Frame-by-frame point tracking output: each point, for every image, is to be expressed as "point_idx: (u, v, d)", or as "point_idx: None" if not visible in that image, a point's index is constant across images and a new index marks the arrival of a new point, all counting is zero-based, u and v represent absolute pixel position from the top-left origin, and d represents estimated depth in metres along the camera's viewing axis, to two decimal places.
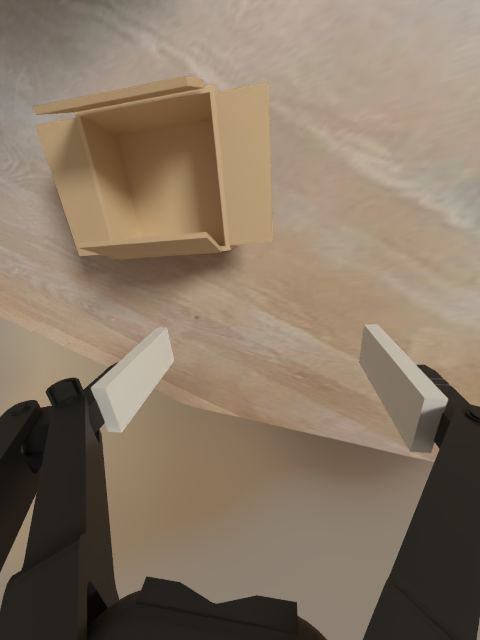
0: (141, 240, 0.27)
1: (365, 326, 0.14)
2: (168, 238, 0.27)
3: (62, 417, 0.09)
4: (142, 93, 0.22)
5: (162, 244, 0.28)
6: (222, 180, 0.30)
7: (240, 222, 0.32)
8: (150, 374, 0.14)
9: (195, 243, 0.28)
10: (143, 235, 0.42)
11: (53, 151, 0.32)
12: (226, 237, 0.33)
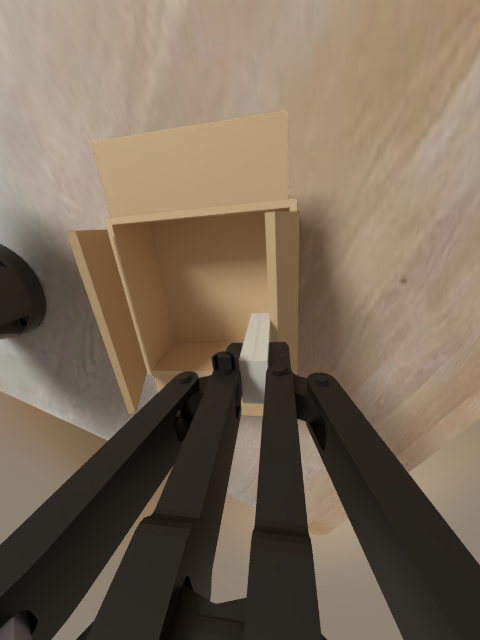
0: (274, 332, 0.17)
1: (260, 314, 0.17)
2: (273, 287, 0.15)
3: (216, 385, 0.10)
4: (95, 293, 0.18)
5: (282, 301, 0.17)
6: (198, 210, 0.21)
7: (253, 179, 0.20)
8: None
9: (283, 243, 0.16)
10: None
11: None
12: (275, 205, 0.20)
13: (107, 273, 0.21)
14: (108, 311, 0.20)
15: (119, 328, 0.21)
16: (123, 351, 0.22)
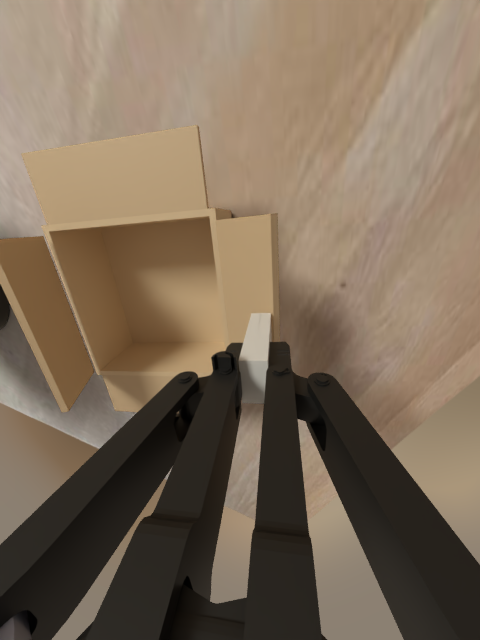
0: (277, 323, 0.18)
1: (260, 314, 0.17)
2: (276, 281, 0.17)
3: (216, 385, 0.10)
4: (15, 297, 0.19)
5: None
6: (126, 219, 0.22)
7: (173, 189, 0.21)
8: None
9: None
10: (223, 338, 0.35)
11: (132, 404, 0.32)
12: (196, 213, 0.21)
13: (38, 278, 0.22)
14: (35, 314, 0.21)
15: (51, 330, 0.23)
16: (55, 352, 0.23)
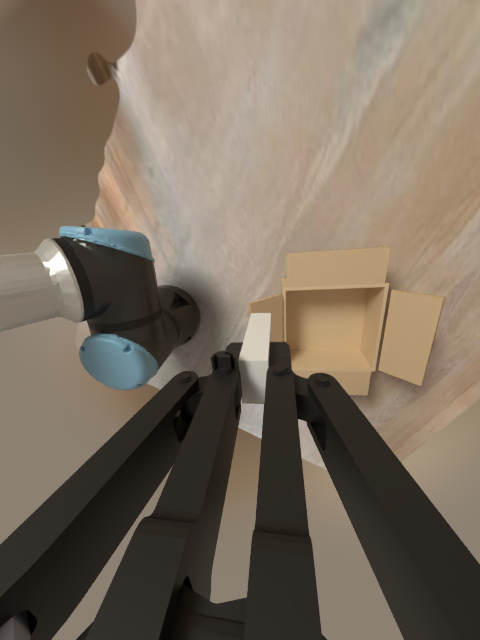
0: (432, 343, 0.38)
1: (261, 314, 0.17)
2: (437, 324, 0.37)
3: (216, 385, 0.10)
4: None
5: None
6: (336, 286, 0.42)
7: (368, 274, 0.40)
8: None
9: None
10: (350, 347, 0.54)
11: None
12: (378, 285, 0.41)
13: None
14: None
15: None
16: None
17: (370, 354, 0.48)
